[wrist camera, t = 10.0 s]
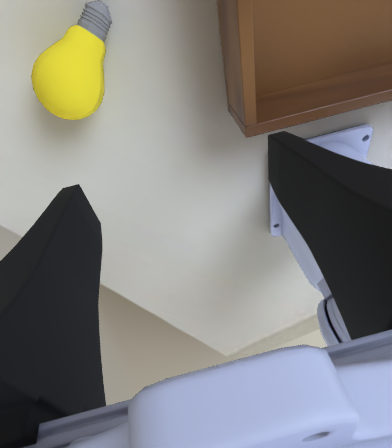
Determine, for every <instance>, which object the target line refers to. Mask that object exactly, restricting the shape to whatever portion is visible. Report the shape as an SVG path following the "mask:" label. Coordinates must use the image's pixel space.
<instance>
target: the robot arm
mask: <svg viewBox="0 0 392 448" xmlns="http://www.w3.org/2000/svg"><path fill="white" fill-rule="evenodd" d="M372 133H373V127H372V126H371V125H369V124H364V125H360V126H357V127H353V128H349V129H345V130H341V131H337V132H333V133H330V134H326V135H322V136H318V137H314V138H310V139H306V140H304V139H302V138H300V137H298V136H295V135H293V134H290V133H288V132H285V131H283V132H279V133H275V134H271V135H268V170H269V182H270V233H271V235H272V236H274V237H275V236H280V235H283V237H284V238H285V240H286V242H287V244H288V246H289V247H290V249H291V251H292V253H293V254H294V256H295V258H296V260H297V262H298V263H299V265H300V267H301V269H302V271H303V272H304V274H305V276H306V278H307V279H308V281H309V282H310V283H311V285H312V286H313V287H314V288H316V289H317V290H318V291H320V292H321V293H322V294H323V296H324V299H323V300H321V302H320V303H319V304H318V308H317V316H318V321H319V327H320V331H321V333H322V336H323V338H324V340H325V343H326V345H327V346H328V347H325V348H318V347H313V346H309V345H298V346H292V347H284V348H279V349H276V350H272V351H268V352H264V353H260V354H257V355H253V356H249V357H245V358H242V359H238V360H234V361H231V362H227V363H223V364H220V365H216V366H212V367H208V368H204V369H201V370H197V371H193V372H189V373H186V374H182V375H178V376H174V377H171V378H167V379H164V380H162V381H159V382H157V383H154V384H151V385H149V386H146V387H144V388H143V389H142V390H141V391H140V392H139V393H138V394H136V395H135V396H134V397H133V398H132V399H130V400H127V401H123V402H119V403H116V404H112V405H108V406H106V402H105V394H104V385H103V374H102V364H101V353H100V336H99V315H98V297H99V296H98V295H99V284H100V272H101V259H102V233H101V223H100V221H99V220H98V218H97V216H96V214H95V212H94V211H93V209H92V207H91V205H90V203H89V201H88V200H87V198H86V196H85V194H84V192H83V191H82V189H81V187H80V185H79V184H78V185H74V186H70V187H66V188H63V189H62V190H61V191H60V192H59V193H58V194H57V196H56V197H55V198H54V199H53V201H52V202H51V203H50V204H49V206H48V207H47V208H46V210H45V211H44V212H43V213H42V215H41V216H40V217H39V218H38V220H37V221H36V222H35V224H34V225H33V226H32V227H31V228H30V229H29V231H28V232H27V233H26V234H25V235H24V236H23V238H22V239H21V240H20V241H19V242H18V243H17V245H16V246H15V247H14V248H13V249H12V250H11V251H10V252H9V253H8V254H7V255H6V256H5V257H4V258H3V259H2V260H1V261H0V448H392V169H387V168H383V167H379V166H375V165H373V164H372V163H371V162H370V161H368V160H367V159H366V157H367V153H368V149H369V145H370V141H371V137H372ZM364 136H365V137H364ZM363 137H364V138H363ZM275 224H276V225H275Z"/></svg>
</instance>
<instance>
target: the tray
mask: <svg viewBox="0 0 392 448" xmlns="http://www.w3.org/2000/svg"><path fill="white" fill-rule="evenodd" d="M217 6H218V16H219V25H220V35H221V44H222V54H223V63H224V73H225V82H226V92H227V101H228V110H229V112H230V114H231V115H232V117H233V118H234V120H235V121H236V123H237V124H238V126H239V127H240V129H241V131H242V132H243V134H244V135H245V137H251V136H255V135H259V134H263V133H266V132H270V131H274V130H278V129H282V128H286V127H290V126H294V125H297V124H301V123H305V122H309V121H313V120H317V119H321V118H325V117H328V116H332V115H336V114H340V113H344V112H348V111H352V110H356V109H359V108H363V107H367V106H371V105H375V104H379V103H383V102H387V101H390V100H392V0H217Z"/></svg>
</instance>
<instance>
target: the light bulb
mask: <svg viewBox="0 0 392 448" xmlns="http://www.w3.org/2000/svg"><path fill="white" fill-rule="evenodd" d="M83 10H84V11H83V12H82V15H80V16H81V19H80V20H79V21H78V25H75V26H72V27H69V29H68V30H67V32H66V34H65V35H64V37H63V38H62V39H60V40H59V41H58V42H56V43H55V44H53V45H52V46H50V47H49V48H48V49H46V50H45V51H44V52H43V53H42V54H40V55H39V57H38V58H37V60H36V62H35V63H34V65H33V70H32V75H31V78H32V84H33V89H34V91H35V94H36V96H37V98H38V100H39V101H40V102H41V103H42V104H43V106H44V107H45V108H46V109H47V110H48V111H49V112H51V113H52V114H54V115H56V116H58V117H60V118H63V119H70V120H78V119H82V118H85V117H88V116H90V115H91V114H92V113H94V112H95V111H96V110H97V109H98V107H99V106H100V104H101V103H102V99H103V95H104V70H103V61H104V57H105V53H106V49H105V45H104V42H103V41H104V40H105V38H106V37H105V36H106V34H108V33H107V31H109V28H110V24H112V20H111V17H110V13H109V10H108V6H107V5H105V4H104V3H103V2H101V1H99V0H98V1H95V2H90V3H85V9H83Z"/></svg>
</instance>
